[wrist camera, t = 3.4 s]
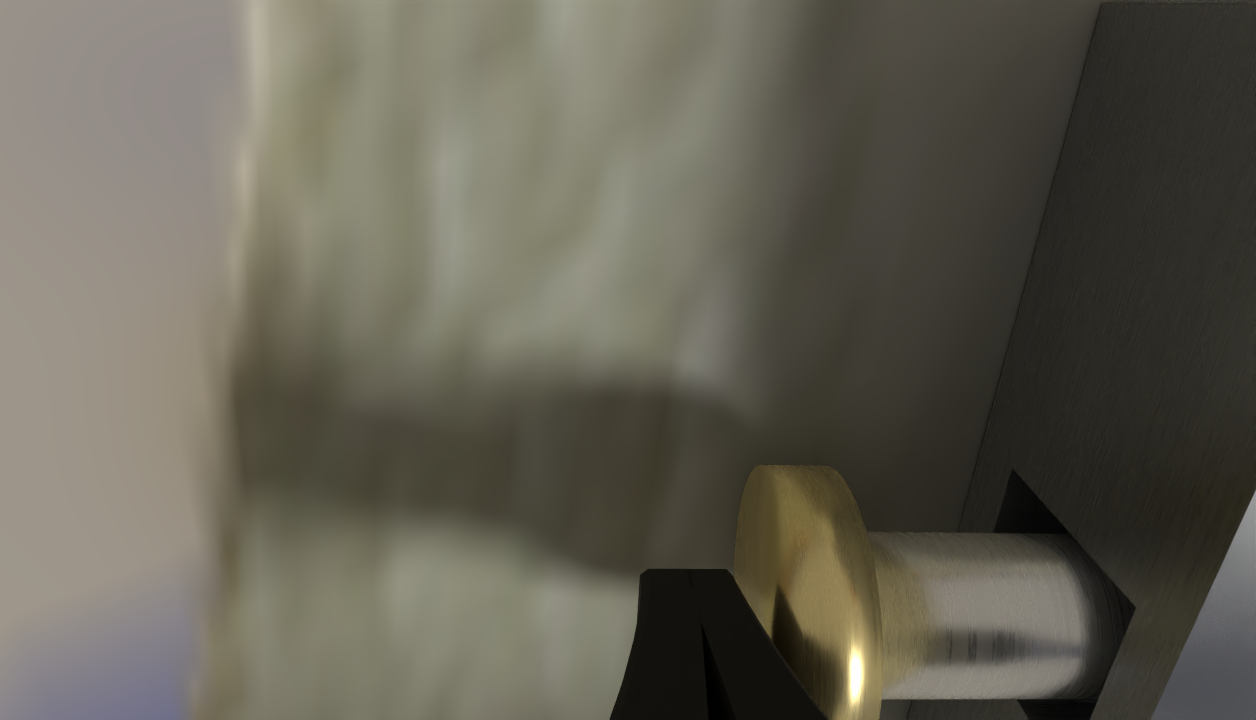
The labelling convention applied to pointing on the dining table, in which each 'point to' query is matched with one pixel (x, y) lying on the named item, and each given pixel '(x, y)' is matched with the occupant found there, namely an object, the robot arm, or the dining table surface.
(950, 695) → the gold headed rod
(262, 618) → the dining table surface
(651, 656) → the robot arm
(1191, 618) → the bracket
